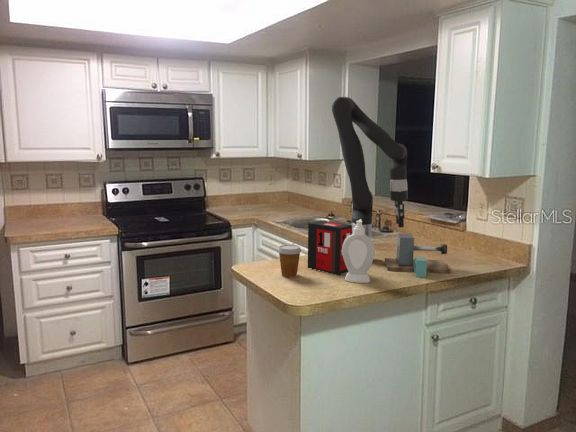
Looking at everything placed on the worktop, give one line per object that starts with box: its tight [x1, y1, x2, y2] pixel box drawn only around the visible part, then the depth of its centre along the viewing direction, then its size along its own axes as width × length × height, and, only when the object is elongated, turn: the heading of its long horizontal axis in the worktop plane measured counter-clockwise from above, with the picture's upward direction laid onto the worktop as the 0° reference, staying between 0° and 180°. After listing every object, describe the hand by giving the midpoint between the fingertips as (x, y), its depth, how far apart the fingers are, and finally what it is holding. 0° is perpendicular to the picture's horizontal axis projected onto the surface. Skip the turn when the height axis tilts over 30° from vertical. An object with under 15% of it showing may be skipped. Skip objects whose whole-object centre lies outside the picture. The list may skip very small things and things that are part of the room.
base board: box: [384, 257, 451, 274], centre depth 212 cm, size 26×16×2 cm, turn 83°
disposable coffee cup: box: [277, 244, 302, 278], centre depth 197 cm, size 10×10×12 cm
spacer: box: [413, 256, 428, 278], centre depth 199 cm, size 4×6×7 cm
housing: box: [396, 232, 415, 266], centre depth 212 cm, size 6×10×12 cm, turn 173°
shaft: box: [414, 243, 448, 255], centre depth 211 cm, size 16×4×4 cm, turn 83°
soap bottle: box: [342, 219, 376, 284], centre depth 190 cm, size 13×8×24 cm, turn 74°
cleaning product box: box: [307, 220, 352, 276], centre depth 206 cm, size 16×9×20 cm, turn 50°
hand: (399, 225), depth 214 cm, fingers open, 8 cm apart
